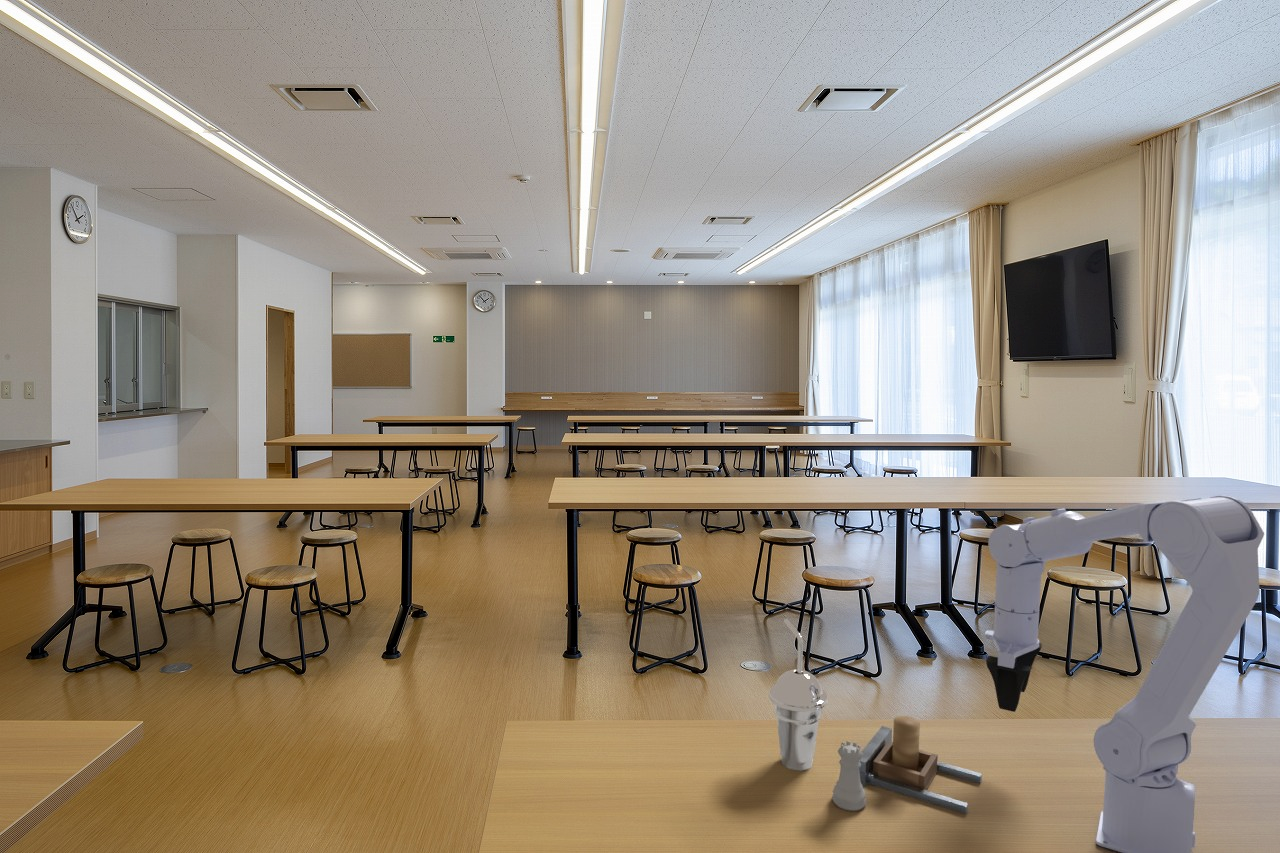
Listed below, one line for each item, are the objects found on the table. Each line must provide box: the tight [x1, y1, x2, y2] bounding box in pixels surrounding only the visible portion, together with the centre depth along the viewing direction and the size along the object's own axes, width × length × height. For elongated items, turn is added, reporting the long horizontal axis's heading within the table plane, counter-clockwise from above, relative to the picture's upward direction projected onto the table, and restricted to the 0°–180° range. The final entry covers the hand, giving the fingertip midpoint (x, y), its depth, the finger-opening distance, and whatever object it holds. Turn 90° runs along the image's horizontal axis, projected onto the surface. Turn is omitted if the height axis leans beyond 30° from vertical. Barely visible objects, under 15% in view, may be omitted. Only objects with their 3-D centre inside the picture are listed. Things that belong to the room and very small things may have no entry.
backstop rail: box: [859, 725, 983, 815], centre depth 111 cm, size 14×12×4 cm
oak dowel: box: [892, 715, 921, 772], centre depth 112 cm, size 4×4×8 cm
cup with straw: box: [768, 618, 829, 771], centre depth 115 cm, size 8×9×20 cm
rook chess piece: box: [831, 740, 867, 812], centre depth 105 cm, size 4×4×8 cm
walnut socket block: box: [873, 741, 939, 791], centre depth 112 cm, size 7×7×3 cm
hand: (1012, 699), depth 114 cm, fingers open, 7 cm apart
